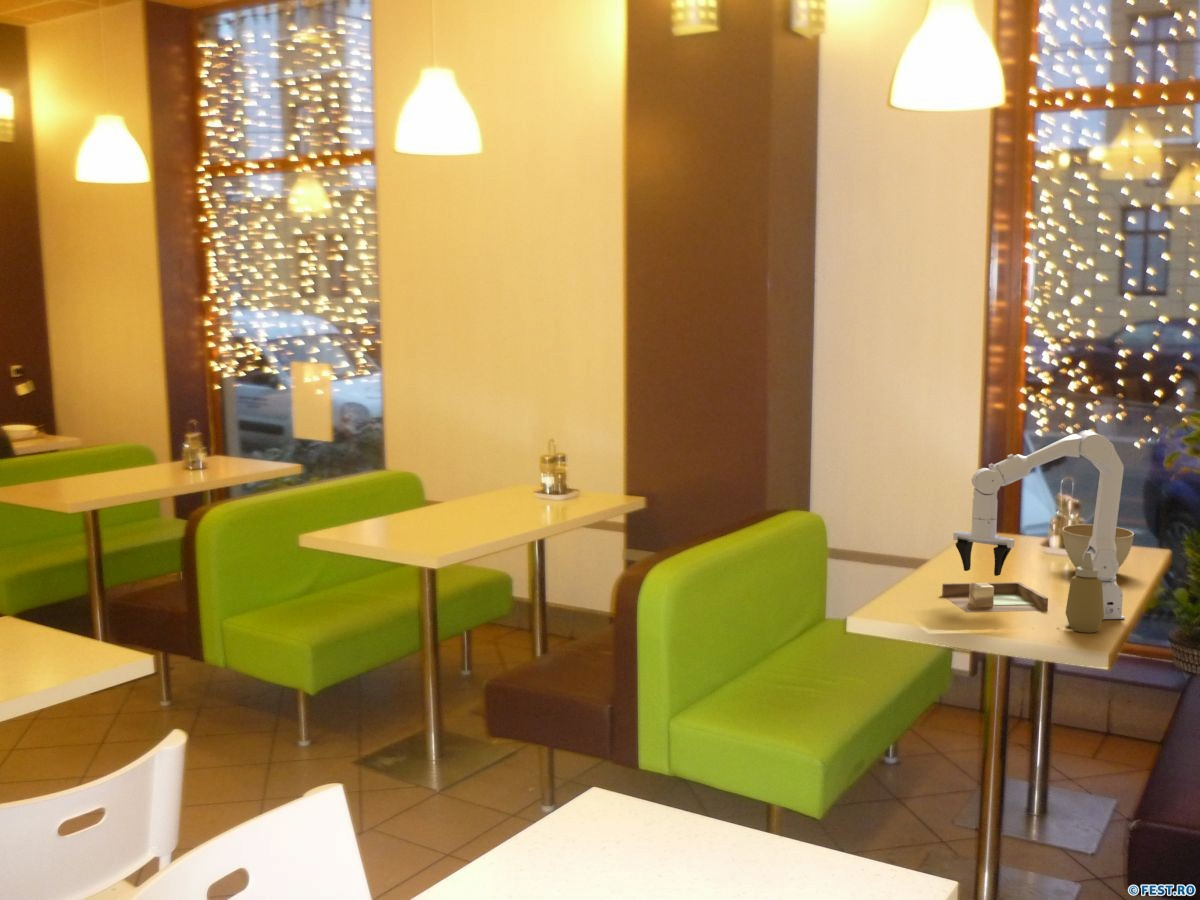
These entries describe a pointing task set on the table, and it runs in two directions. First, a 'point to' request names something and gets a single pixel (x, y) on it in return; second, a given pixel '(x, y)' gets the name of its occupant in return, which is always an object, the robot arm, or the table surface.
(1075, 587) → the squeeze bottle
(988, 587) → the block
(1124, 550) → the beige bowl
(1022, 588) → the arena
